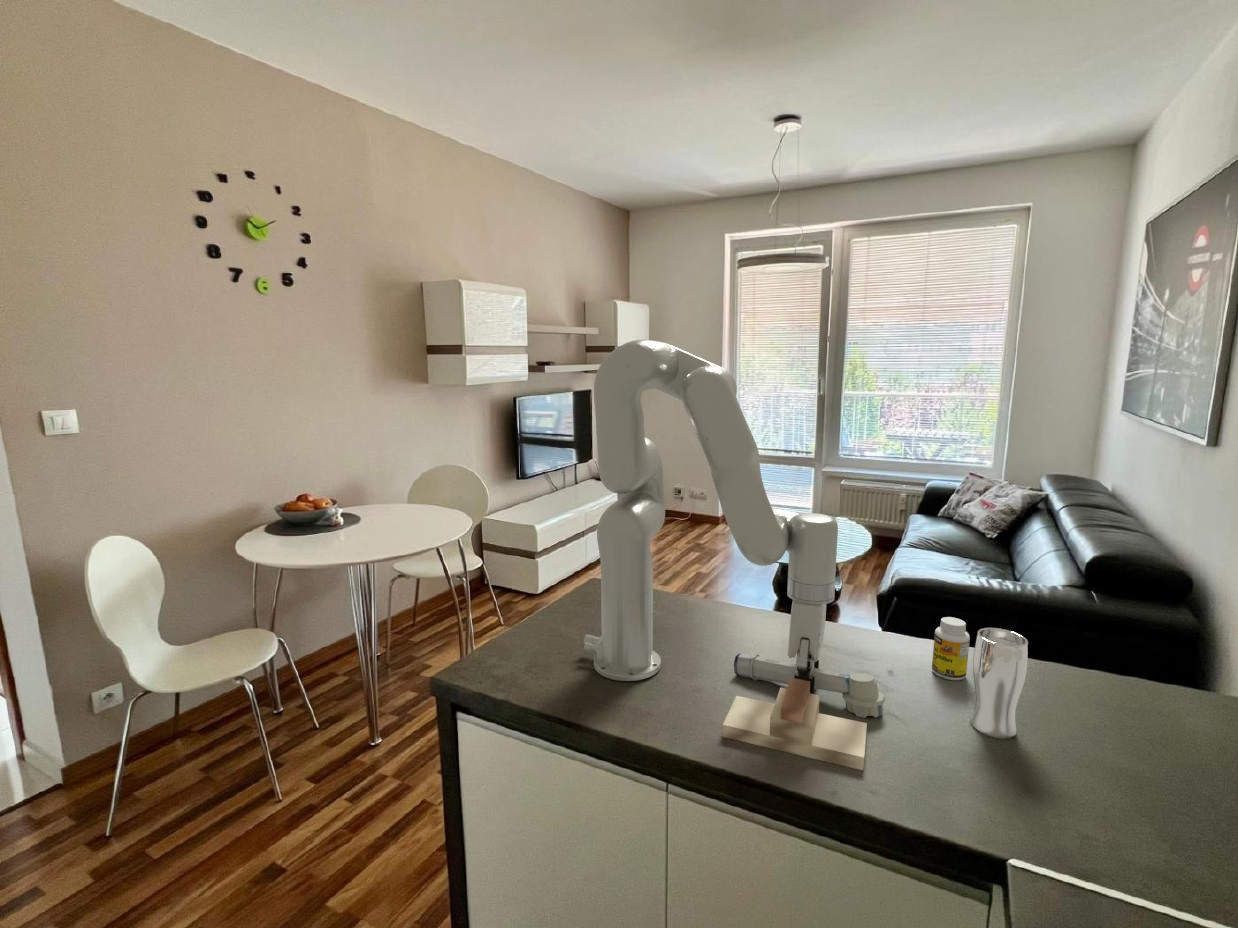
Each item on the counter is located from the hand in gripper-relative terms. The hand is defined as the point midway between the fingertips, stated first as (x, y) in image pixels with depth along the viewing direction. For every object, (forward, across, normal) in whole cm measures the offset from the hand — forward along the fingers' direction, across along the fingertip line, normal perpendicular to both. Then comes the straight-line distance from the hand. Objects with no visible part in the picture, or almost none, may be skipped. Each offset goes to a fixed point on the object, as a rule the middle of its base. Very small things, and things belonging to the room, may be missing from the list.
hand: (806, 687), depth 107 cm
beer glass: (+1, -1, +28) cm, 28 cm away
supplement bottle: (+1, -17, +23) cm, 29 cm away
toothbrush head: (+2, 0, 0) cm, 2 cm away
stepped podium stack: (+1, +14, 0) cm, 14 cm away
